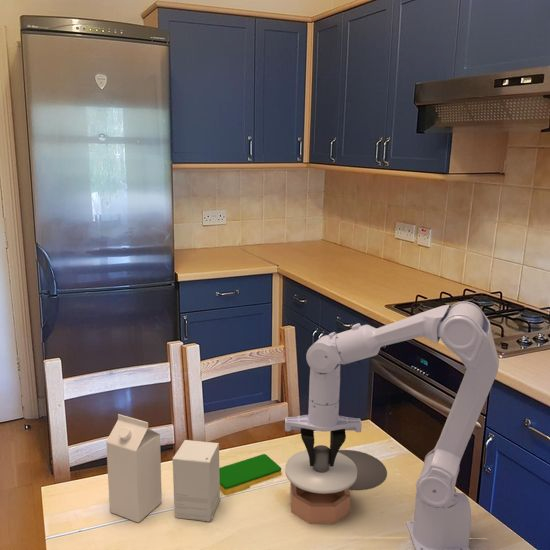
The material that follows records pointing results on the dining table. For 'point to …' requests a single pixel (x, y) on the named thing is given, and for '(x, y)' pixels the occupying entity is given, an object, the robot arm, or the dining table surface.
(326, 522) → the bowl
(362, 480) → the mat
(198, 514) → the supplement box
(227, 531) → the dining table surface
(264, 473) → the dish sponge
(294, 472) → the lid
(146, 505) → the milk carton
